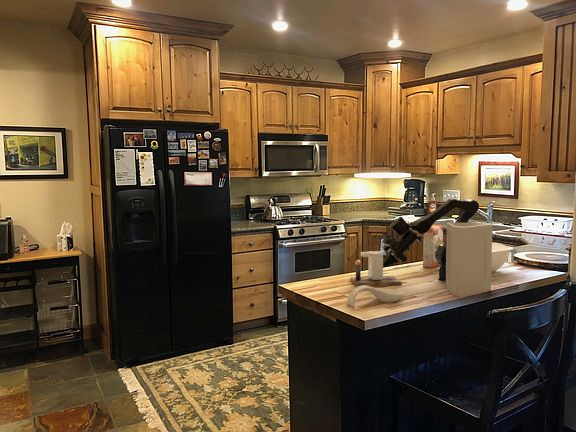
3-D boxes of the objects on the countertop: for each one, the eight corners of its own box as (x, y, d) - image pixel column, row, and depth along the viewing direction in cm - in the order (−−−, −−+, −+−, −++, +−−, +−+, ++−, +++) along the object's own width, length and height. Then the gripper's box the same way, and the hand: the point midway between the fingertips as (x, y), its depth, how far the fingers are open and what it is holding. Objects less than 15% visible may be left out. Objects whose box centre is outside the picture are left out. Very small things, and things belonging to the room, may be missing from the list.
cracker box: (433, 268, 240) (434, 228, 238) (422, 267, 244) (422, 227, 242) (442, 263, 251) (443, 225, 250) (432, 262, 255) (432, 224, 253)
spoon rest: (390, 295, 191) (390, 278, 190) (409, 302, 180) (410, 284, 180) (341, 303, 181) (341, 285, 180) (359, 311, 170) (358, 291, 169)
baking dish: (475, 280, 213) (476, 253, 212) (428, 269, 237) (429, 245, 236) (522, 271, 229) (523, 246, 228) (474, 262, 254) (474, 239, 253)
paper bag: (462, 283, 208) (463, 221, 205) (491, 290, 195) (493, 224, 193) (432, 289, 198) (433, 224, 195) (461, 297, 185) (463, 227, 183)
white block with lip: (378, 276, 215) (379, 251, 214) (382, 279, 209) (382, 253, 208) (359, 277, 214) (359, 251, 213) (363, 280, 208) (363, 253, 207)
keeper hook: (360, 279, 212) (360, 259, 211) (361, 280, 210) (361, 260, 209) (354, 279, 212) (354, 259, 211) (356, 280, 209) (355, 260, 208)
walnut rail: (392, 278, 219) (392, 275, 218) (401, 284, 207) (401, 280, 207) (350, 280, 217) (350, 276, 216) (356, 286, 205) (356, 282, 204)
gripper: (386, 227, 219) (363, 251, 219) (400, 232, 201) (375, 258, 201) (402, 243, 221) (380, 267, 221) (417, 250, 202) (392, 276, 202)
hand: (381, 266), depth 211 cm, fingers closed, pressing on white block with lip
